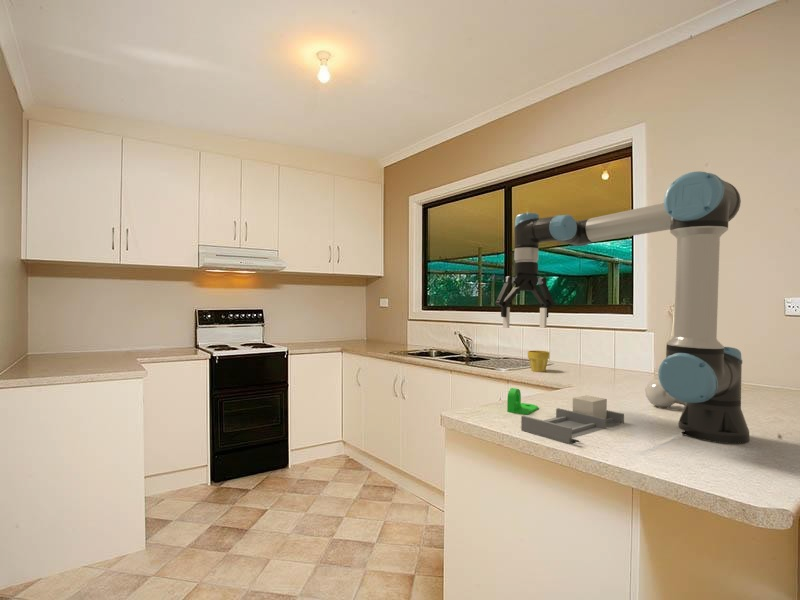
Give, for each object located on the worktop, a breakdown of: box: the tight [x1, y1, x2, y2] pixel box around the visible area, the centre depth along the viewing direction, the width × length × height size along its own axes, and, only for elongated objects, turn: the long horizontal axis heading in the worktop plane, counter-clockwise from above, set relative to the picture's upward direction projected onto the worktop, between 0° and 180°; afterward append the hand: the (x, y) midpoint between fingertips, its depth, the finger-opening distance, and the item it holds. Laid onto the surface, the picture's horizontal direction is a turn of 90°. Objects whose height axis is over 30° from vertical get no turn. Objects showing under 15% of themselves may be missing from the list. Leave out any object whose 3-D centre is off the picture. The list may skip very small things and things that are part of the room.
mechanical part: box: [506, 387, 539, 416], centre depth 138 cm, size 12×6×8 cm, turn 144°
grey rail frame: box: [520, 407, 625, 445], centre depth 122 cm, size 14×26×4 cm, turn 127°
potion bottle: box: [644, 378, 686, 409], centre depth 149 cm, size 9×10×15 cm
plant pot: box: [527, 350, 550, 373], centre depth 226 cm, size 10×10×10 cm
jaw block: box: [572, 395, 608, 419], centre depth 126 cm, size 6×7×6 cm
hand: (524, 327), depth 147 cm, fingers open, 13 cm apart
